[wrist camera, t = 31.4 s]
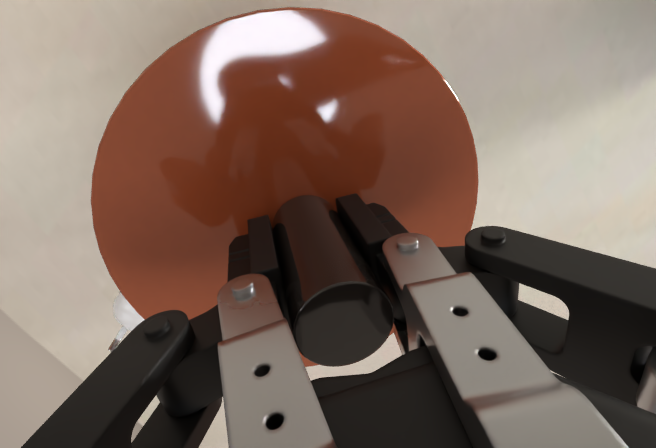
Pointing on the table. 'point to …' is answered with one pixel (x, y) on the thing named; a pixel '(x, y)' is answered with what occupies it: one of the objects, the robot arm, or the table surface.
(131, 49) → the table surface
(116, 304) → the milkshake
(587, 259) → the robot arm
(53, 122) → the table surface
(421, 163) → the lid
